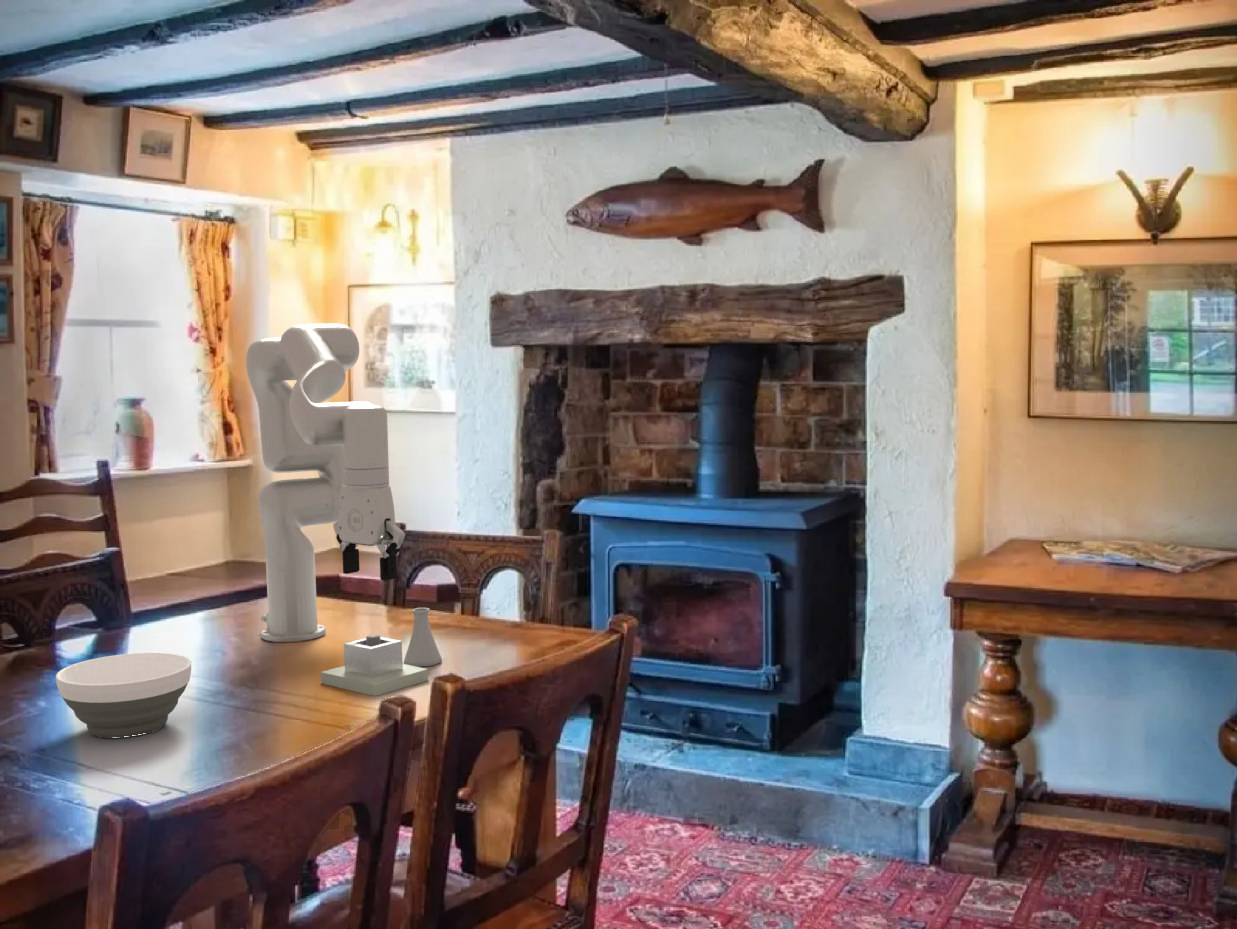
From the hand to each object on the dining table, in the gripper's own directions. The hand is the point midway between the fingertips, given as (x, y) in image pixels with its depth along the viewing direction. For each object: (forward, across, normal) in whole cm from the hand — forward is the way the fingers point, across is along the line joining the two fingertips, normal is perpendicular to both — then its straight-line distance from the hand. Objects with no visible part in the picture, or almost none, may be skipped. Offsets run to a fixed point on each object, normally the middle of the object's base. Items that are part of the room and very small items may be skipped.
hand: (369, 575), depth 221 cm
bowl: (+19, -10, -40) cm, 46 cm away
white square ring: (+17, +1, 0) cm, 17 cm away
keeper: (+19, +1, 0) cm, 19 cm away
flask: (+19, -2, +14) cm, 24 cm away
